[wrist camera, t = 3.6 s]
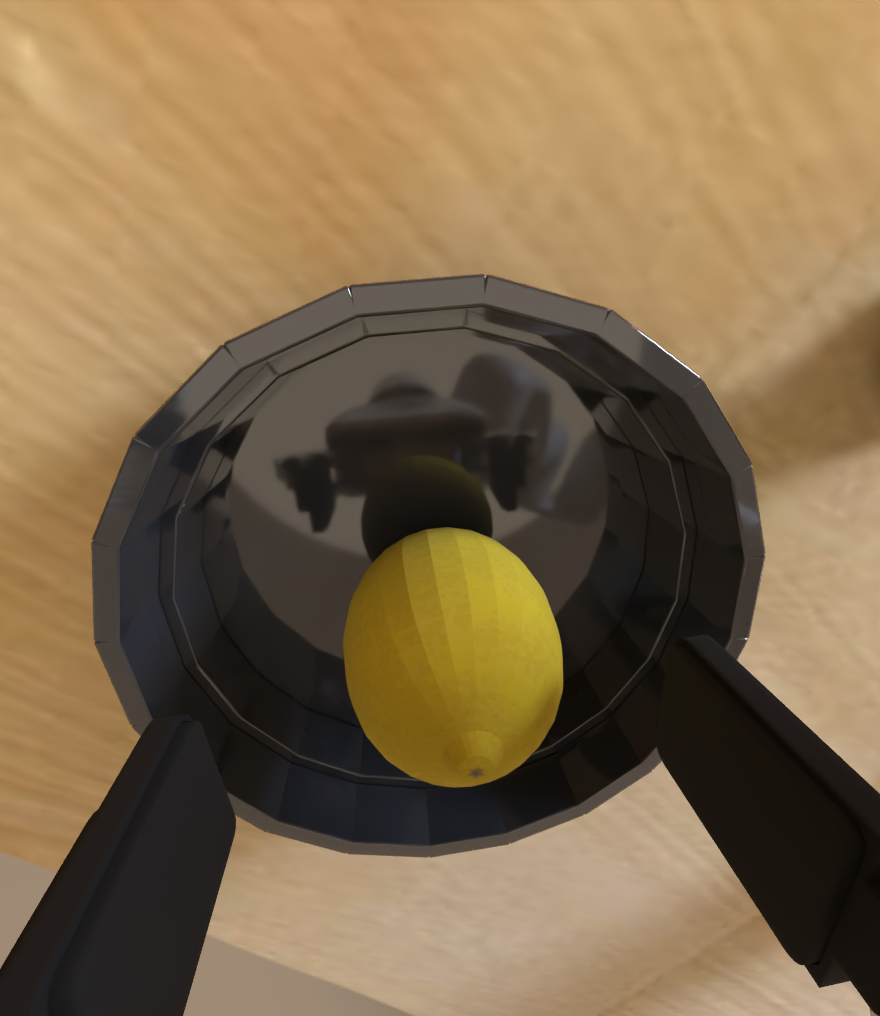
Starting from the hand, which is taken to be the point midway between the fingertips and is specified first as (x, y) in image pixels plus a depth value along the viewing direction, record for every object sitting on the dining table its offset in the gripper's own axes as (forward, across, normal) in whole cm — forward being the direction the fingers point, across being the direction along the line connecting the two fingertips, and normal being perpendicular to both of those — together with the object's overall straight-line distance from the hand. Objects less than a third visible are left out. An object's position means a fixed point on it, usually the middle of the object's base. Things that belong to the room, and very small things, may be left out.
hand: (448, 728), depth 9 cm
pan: (+7, 0, 0) cm, 8 cm away
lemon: (+7, 0, 0) cm, 7 cm away
